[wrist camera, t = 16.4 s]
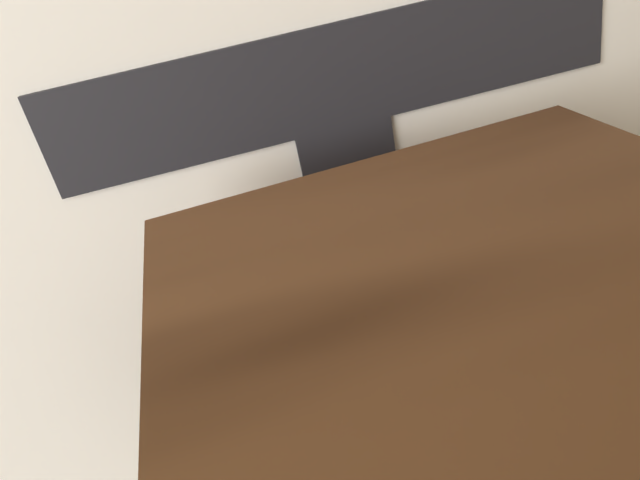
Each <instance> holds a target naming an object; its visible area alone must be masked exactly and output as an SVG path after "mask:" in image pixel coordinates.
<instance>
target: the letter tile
mask: <svg viewBox="0 0 640 480" xmlns="http://www.w3.org/2000/svg"><path fill="white" fill-rule="evenodd" d="M557 105H559V106H561V107H564V108H567V109H569V110H572V111H575V112H577V113H580V114H582V115H585V116H588V117H590V118H593V119H596V120H598V121H601V122H603V123H606V124H609V125H611V126H614V127H617V128H619V129H622V130H624V131H627V132H630V133H632V134H635V135H638V136H640V0H0V480H138V461H139V421H140V382H141V343H142V303H143V264H144V225H145V220H148V219H152V218H156V217H159V216H163V215H166V214H170V213H174V212H177V211H181V210H184V209H188V208H192V207H195V206H199V205H202V204H206V203H209V202H213V201H217V200H220V199H224V198H227V197H231V196H235V195H238V194H242V193H245V192H249V191H253V190H256V189H260V188H263V187H267V186H270V185H274V184H278V183H281V182H285V181H288V180H292V179H296V178H299V177H303V176H306V175H310V174H313V173H317V172H321V171H324V170H328V169H331V168H335V167H339V166H342V165H346V164H349V163H353V162H357V161H360V160H364V159H367V158H371V157H374V156H378V155H382V154H385V153H389V152H392V151H396V150H400V149H403V148H407V147H410V146H414V145H418V144H421V143H425V142H428V141H432V140H435V139H439V138H443V137H446V136H450V135H453V134H457V133H461V132H464V131H468V130H471V129H475V128H479V127H482V126H486V125H489V124H493V123H496V122H500V121H504V120H507V119H511V118H514V117H518V116H522V115H525V114H529V113H532V112H536V111H540V110H543V109H547V108H550V107H554V106H557Z"/></svg>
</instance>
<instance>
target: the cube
mask: <svg viewBox="0 0 640 480" xmlns="http://www.w3.org/2000/svg"><path fill="white" fill-rule="evenodd" d="M138 480H640V136H638V135H635V134H632V133H630V132H627V131H624V130H622V129H619V128H617V127H614V126H611V125H609V124H606V123H603V122H601V121H598V120H596V119H593V118H590V117H588V116H585V115H582V114H580V113H577V112H575V111H572V110H569V109H567V108H564V107H561V106H559V105H557V106H554V107H550V108H547V109H543V110H540V111H536V112H532V113H529V114H525V115H522V116H518V117H514V118H511V119H507V120H504V121H500V122H496V123H493V124H489V125H486V126H482V127H479V128H475V129H471V130H468V131H464V132H461V133H457V134H453V135H450V136H446V137H443V138H439V139H435V140H432V141H428V142H425V143H421V144H418V145H414V146H410V147H407V148H403V149H400V150H396V151H392V152H389V153H385V154H382V155H378V156H374V157H371V158H367V159H364V160H360V161H357V162H353V163H349V164H346V165H342V166H339V167H335V168H331V169H328V170H324V171H321V172H317V173H313V174H310V175H306V176H303V177H299V178H296V179H292V180H288V181H285V182H281V183H278V184H274V185H270V186H267V187H263V188H260V189H256V190H253V191H249V192H245V193H242V194H238V195H235V196H231V197H227V198H224V199H220V200H217V201H213V202H209V203H206V204H202V205H199V206H195V207H192V208H188V209H184V210H181V211H177V212H174V213H170V214H166V215H163V216H159V217H156V218H152V219H148V220H145V225H144V264H143V303H142V343H141V382H140V421H139V461H138Z"/></svg>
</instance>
